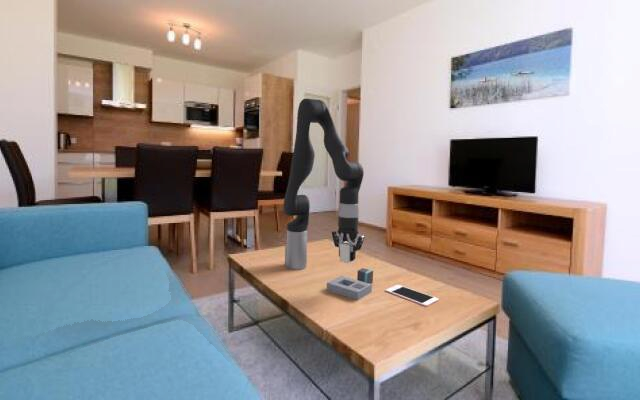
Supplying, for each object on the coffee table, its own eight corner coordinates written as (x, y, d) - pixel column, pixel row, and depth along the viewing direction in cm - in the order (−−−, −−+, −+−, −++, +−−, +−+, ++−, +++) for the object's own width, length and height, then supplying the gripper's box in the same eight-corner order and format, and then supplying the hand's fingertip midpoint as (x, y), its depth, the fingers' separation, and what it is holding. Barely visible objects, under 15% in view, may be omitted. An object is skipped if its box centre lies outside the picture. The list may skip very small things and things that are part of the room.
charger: (339, 261, 131) (340, 243, 130) (345, 259, 134) (345, 241, 133) (348, 263, 128) (349, 245, 128) (354, 261, 132) (354, 243, 131)
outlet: (326, 290, 132) (326, 282, 132) (341, 282, 140) (341, 275, 140) (357, 300, 124) (358, 291, 123) (371, 291, 132) (371, 284, 131)
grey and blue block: (357, 282, 141) (357, 270, 141) (362, 279, 145) (362, 267, 144) (367, 285, 138) (368, 273, 138) (372, 282, 142) (373, 270, 141)
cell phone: (397, 286, 139) (397, 284, 139) (439, 301, 126) (439, 298, 126) (384, 292, 133) (384, 289, 133) (426, 308, 120) (426, 305, 120)
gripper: (327, 214, 130) (326, 258, 133) (359, 218, 122) (357, 265, 124) (338, 211, 136) (337, 253, 138) (370, 216, 128) (368, 261, 130)
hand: (347, 259), depth 131 cm, fingers closed on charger, 4 cm apart
